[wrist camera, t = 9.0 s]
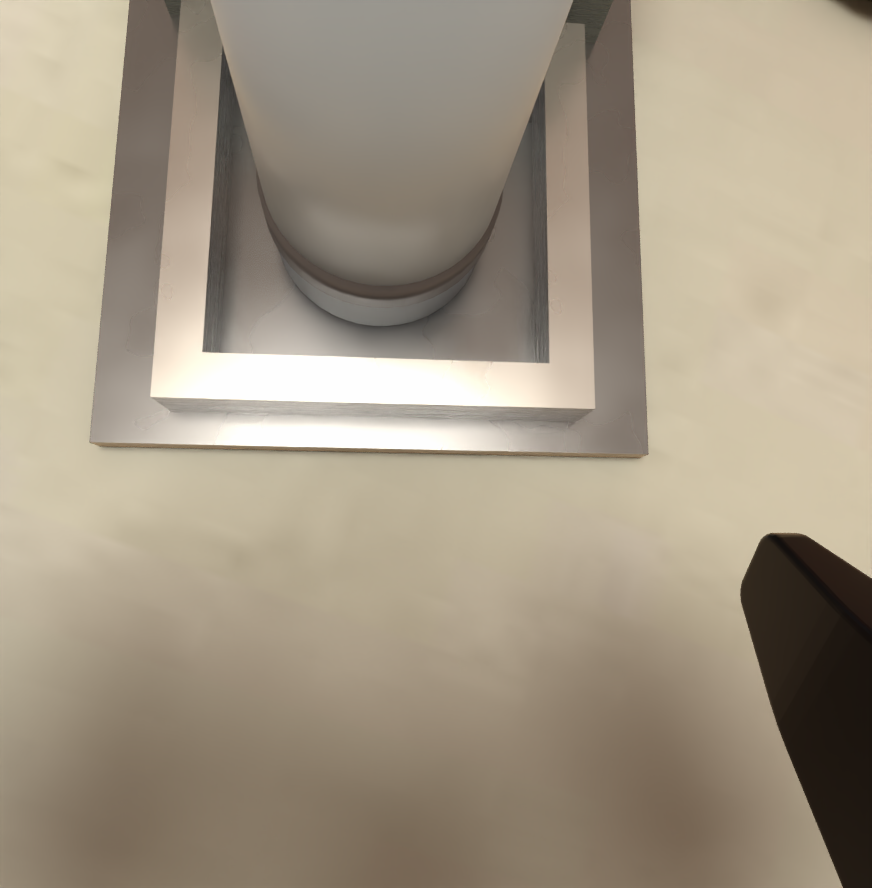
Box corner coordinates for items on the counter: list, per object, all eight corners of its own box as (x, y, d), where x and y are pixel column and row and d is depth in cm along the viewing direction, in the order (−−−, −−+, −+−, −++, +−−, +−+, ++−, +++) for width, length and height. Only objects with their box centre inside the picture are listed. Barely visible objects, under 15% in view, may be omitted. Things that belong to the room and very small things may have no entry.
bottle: (520, 278, 17) (891, -395, 5) (329, 365, 17) (229, -190, 4) (426, 102, 18) (559, -888, 6) (236, 177, 17) (-88, -792, 5)
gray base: (639, 458, 18) (832, 382, 10) (99, 446, 17) (-131, 353, 9) (616, -156, 20) (753, -567, 13) (156, -197, 19) (17, -668, 12)
